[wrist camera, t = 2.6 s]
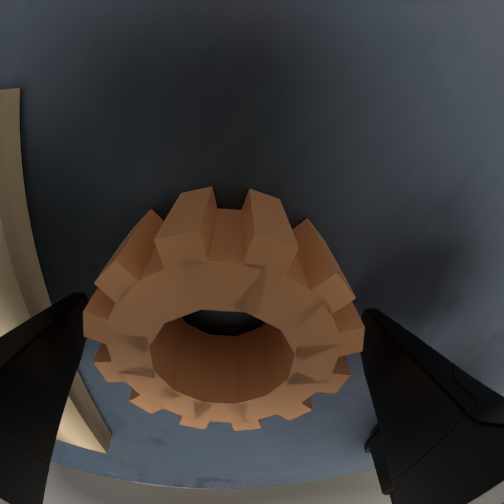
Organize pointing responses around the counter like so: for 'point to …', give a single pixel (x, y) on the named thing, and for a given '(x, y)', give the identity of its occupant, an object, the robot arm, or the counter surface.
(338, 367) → the terracotta gear
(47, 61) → the counter surface
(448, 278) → the counter surface
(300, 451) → the counter surface
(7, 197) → the gear board
